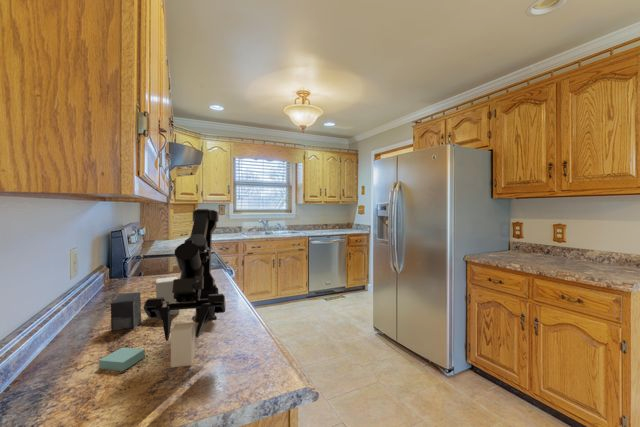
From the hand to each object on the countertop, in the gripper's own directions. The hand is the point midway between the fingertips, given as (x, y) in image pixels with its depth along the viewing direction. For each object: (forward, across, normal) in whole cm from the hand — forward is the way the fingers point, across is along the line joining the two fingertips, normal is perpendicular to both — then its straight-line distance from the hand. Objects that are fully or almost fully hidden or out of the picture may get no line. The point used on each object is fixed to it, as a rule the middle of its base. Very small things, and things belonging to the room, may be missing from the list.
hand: (181, 338), depth 71 cm
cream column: (+4, 0, +6) cm, 8 cm away
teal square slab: (+1, -14, +7) cm, 16 cm away
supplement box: (-25, -14, +36) cm, 47 cm away
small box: (-16, -23, +27) cm, 39 cm away
